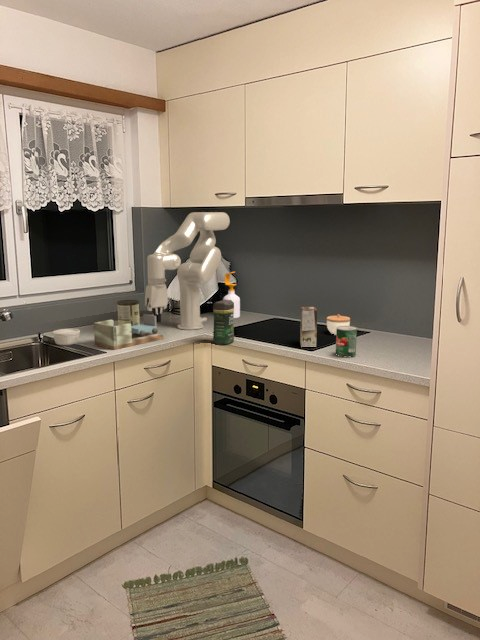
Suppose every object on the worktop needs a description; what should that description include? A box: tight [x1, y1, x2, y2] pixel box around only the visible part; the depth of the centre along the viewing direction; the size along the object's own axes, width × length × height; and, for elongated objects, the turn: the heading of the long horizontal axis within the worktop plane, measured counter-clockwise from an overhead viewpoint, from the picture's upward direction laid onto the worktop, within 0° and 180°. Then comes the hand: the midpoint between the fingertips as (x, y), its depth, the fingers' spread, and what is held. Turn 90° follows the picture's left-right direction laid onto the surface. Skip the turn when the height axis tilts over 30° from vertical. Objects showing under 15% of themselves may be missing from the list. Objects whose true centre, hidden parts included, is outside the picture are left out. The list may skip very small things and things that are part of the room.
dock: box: [93, 319, 164, 351], centre depth 232 cm, size 26×14×10 cm, turn 138°
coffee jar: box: [212, 299, 235, 345], centre depth 230 cm, size 10×8×19 cm
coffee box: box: [299, 305, 318, 348], centre depth 225 cm, size 9×6×16 cm
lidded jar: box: [326, 313, 351, 336], centre depth 246 cm, size 11×11×9 cm
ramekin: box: [52, 328, 81, 346], centre depth 231 cm, size 11×11×5 cm
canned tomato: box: [335, 325, 358, 357], centre depth 210 cm, size 8×8×11 cm
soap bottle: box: [222, 271, 241, 319], centre depth 286 cm, size 9×9×25 cm
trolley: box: [131, 313, 159, 336], centre depth 237 cm, size 10×10×8 cm
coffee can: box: [116, 299, 141, 326], centre depth 255 cm, size 10×10×14 cm
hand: (157, 322), depth 244 cm, fingers closed
